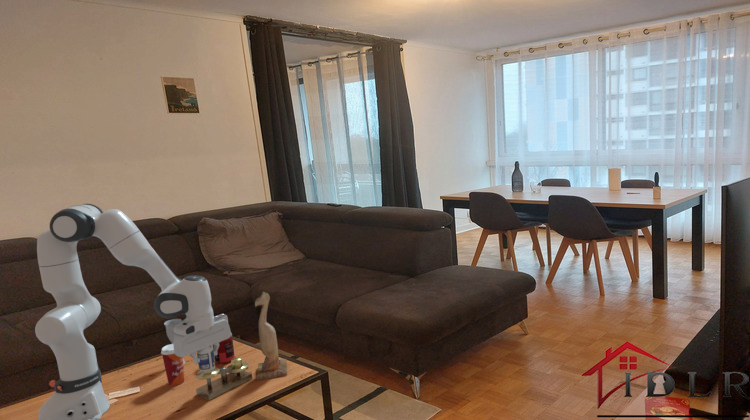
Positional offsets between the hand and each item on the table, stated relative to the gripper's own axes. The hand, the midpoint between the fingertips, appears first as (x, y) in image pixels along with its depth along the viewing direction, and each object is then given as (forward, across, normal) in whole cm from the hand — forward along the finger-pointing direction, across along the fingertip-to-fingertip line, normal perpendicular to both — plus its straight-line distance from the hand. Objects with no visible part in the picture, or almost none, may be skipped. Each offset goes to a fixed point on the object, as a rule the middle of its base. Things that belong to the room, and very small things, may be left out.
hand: (206, 359), depth 171 cm
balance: (+13, -6, 0) cm, 14 cm away
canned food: (+13, -19, -20) cm, 31 cm away
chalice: (+13, -7, -35) cm, 38 cm away
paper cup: (+13, +2, -20) cm, 24 cm away
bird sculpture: (+13, -23, +6) cm, 27 cm away
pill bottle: (+4, 0, 0) cm, 4 cm away
